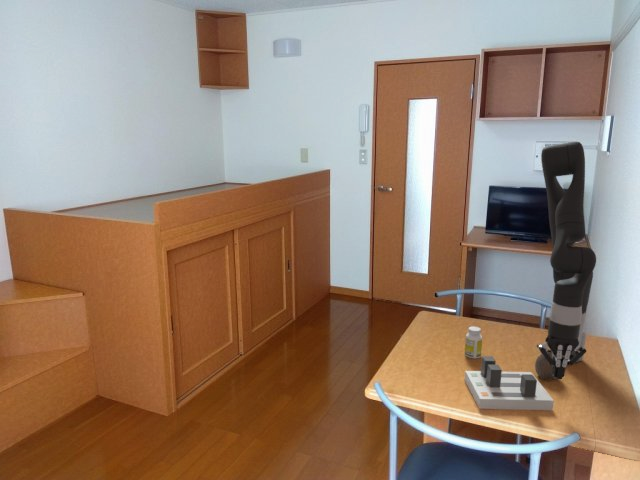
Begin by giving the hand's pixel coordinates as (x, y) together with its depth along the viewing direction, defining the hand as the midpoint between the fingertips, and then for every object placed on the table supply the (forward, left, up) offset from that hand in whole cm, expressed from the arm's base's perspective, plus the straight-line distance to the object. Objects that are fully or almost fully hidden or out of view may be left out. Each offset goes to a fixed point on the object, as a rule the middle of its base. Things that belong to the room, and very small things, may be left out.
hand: (557, 377), depth 135 cm
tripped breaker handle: (+8, 0, -5) cm, 9 cm away
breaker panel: (+11, -6, -9) cm, 15 cm away
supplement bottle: (+14, -31, -9) cm, 35 cm away
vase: (-5, -17, -9) cm, 19 cm away
